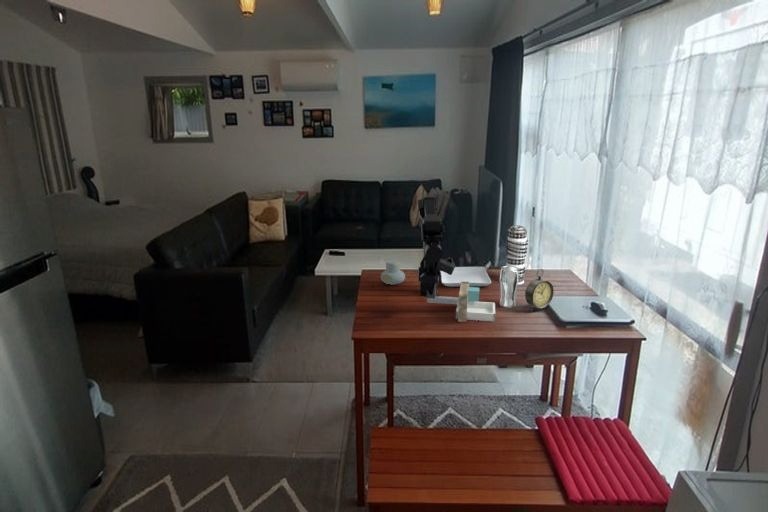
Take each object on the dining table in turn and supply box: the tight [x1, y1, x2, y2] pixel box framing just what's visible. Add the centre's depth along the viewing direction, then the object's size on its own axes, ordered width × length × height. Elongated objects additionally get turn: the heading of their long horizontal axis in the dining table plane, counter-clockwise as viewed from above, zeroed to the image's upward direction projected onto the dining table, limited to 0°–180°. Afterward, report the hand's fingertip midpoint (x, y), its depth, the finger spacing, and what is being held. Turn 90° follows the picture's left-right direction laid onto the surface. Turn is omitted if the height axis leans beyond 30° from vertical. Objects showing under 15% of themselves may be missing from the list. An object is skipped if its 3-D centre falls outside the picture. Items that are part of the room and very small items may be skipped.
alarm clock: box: [524, 268, 555, 313], centre depth 175 cm, size 11×5×16 cm, turn 118°
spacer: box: [468, 287, 480, 302], centre depth 172 cm, size 4×4×4 cm
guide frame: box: [457, 282, 469, 323], centre depth 174 cm, size 3×15×10 cm, turn 168°
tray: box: [455, 301, 496, 323], centre depth 174 cm, size 14×11×3 cm
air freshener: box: [380, 259, 406, 286], centre depth 206 cm, size 11×8×10 cm
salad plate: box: [440, 266, 492, 288], centre depth 209 cm, size 21×21×3 cm
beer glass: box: [499, 265, 519, 309], centre depth 180 cm, size 7×7×15 cm
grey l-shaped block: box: [426, 284, 474, 305], centre depth 174 cm, size 18×3×8 cm, turn 78°
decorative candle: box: [505, 224, 529, 286], centre depth 203 cm, size 9×9×25 cm
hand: (431, 293), depth 175 cm, fingers closed on grey l-shaped block, 3 cm apart
